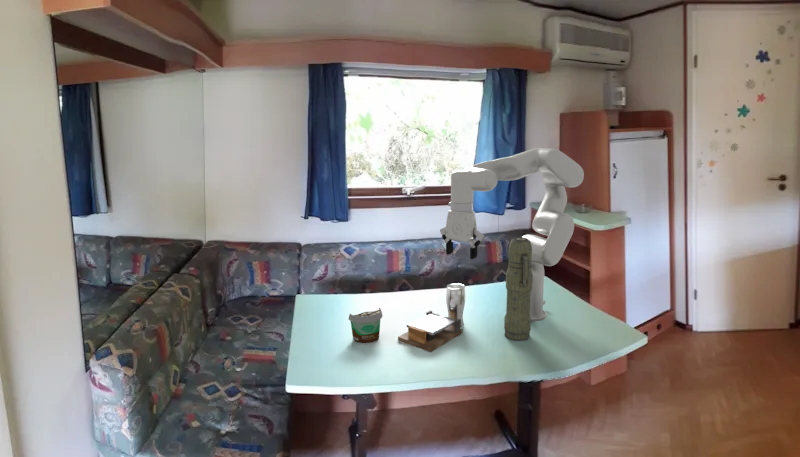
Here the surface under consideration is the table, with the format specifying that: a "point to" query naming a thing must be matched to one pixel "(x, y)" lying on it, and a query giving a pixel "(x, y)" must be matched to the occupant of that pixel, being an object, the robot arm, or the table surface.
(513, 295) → the thermos
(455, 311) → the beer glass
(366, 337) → the food container
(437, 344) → the plate
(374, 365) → the table surface
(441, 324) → the grey marble tile
